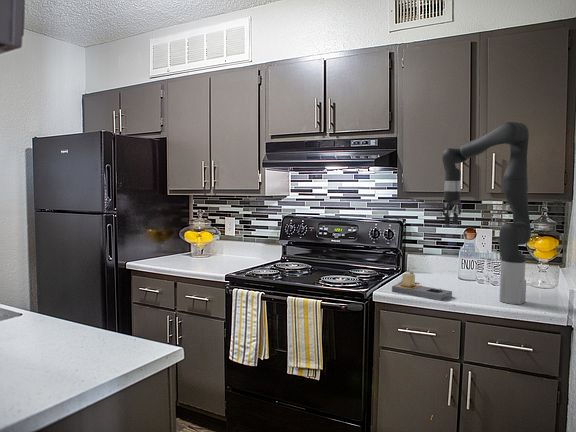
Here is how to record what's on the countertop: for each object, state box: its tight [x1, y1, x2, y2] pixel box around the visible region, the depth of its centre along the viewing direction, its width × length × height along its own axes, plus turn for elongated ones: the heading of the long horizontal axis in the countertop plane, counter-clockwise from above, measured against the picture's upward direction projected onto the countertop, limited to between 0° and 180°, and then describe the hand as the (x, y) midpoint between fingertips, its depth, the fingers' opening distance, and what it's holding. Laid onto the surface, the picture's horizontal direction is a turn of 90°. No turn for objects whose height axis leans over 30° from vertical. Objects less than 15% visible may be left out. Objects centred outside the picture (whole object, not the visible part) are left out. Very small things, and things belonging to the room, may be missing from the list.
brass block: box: [401, 272, 416, 288], centre depth 213 cm, size 4×4×8 cm
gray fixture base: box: [391, 283, 453, 302], centre depth 209 cm, size 24×10×3 cm, turn 46°
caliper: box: [394, 270, 415, 285], centre depth 227 cm, size 20×1×6 cm, turn 139°
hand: (451, 224), depth 224 cm, fingers open, 8 cm apart
